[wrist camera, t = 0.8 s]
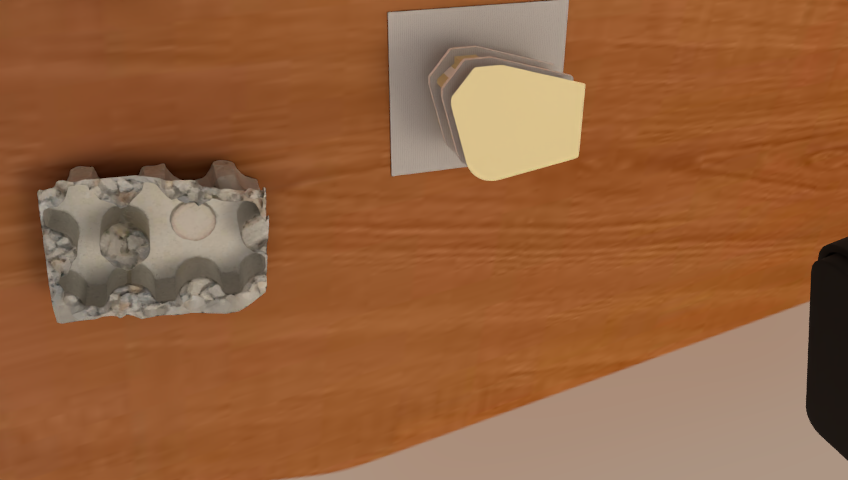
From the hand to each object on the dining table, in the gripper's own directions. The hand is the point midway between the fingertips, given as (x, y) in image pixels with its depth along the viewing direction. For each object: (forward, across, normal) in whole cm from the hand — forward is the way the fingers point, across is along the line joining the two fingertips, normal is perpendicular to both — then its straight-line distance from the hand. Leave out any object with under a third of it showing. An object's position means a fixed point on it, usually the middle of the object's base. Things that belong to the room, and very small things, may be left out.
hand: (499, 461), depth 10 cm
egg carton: (+33, +8, +10) cm, 36 cm away
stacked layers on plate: (+33, -10, +9) cm, 36 cm away
